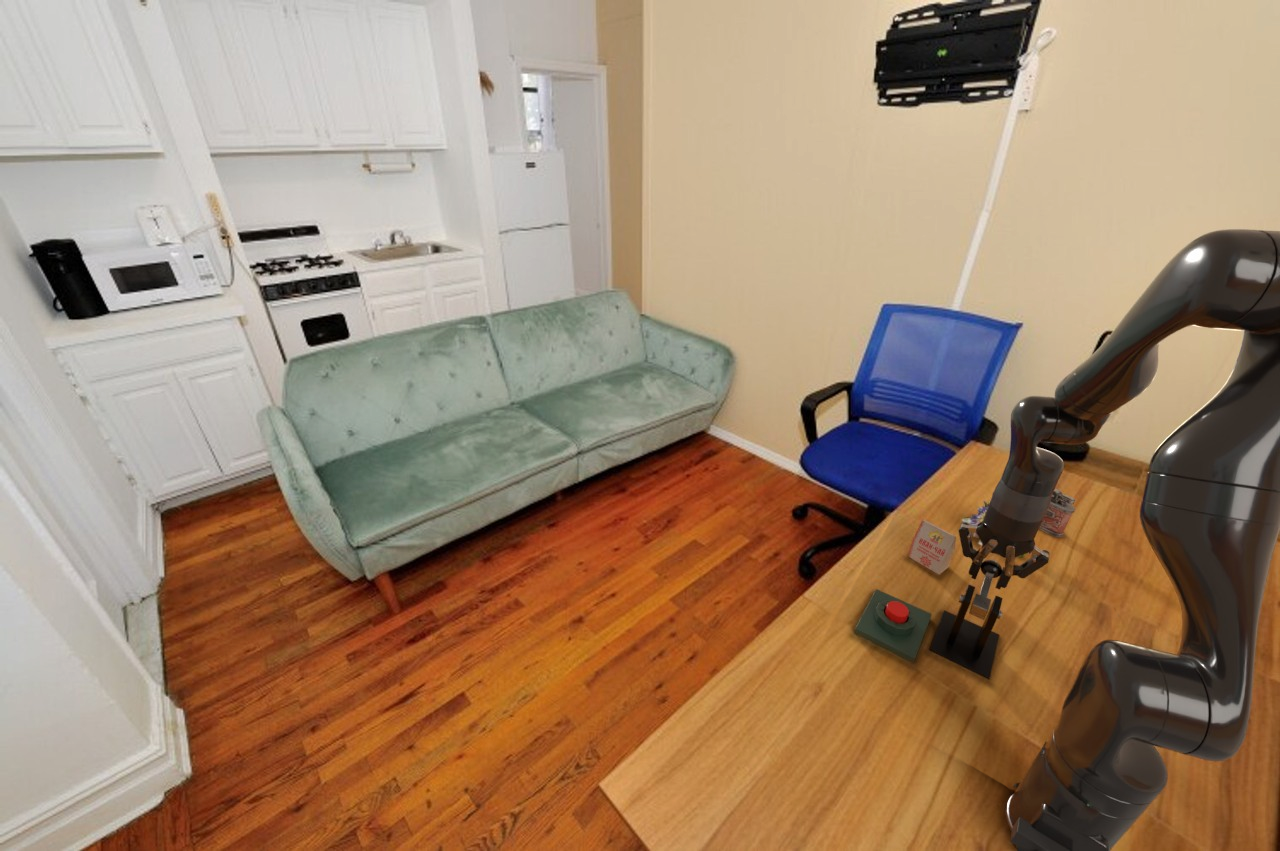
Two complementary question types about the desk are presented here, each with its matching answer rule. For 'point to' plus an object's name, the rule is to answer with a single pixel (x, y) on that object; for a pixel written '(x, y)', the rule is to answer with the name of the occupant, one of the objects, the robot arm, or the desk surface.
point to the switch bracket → (968, 637)
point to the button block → (893, 627)
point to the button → (896, 612)
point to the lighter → (1057, 514)
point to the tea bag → (932, 547)
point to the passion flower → (979, 521)
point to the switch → (985, 588)
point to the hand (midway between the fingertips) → (986, 581)
